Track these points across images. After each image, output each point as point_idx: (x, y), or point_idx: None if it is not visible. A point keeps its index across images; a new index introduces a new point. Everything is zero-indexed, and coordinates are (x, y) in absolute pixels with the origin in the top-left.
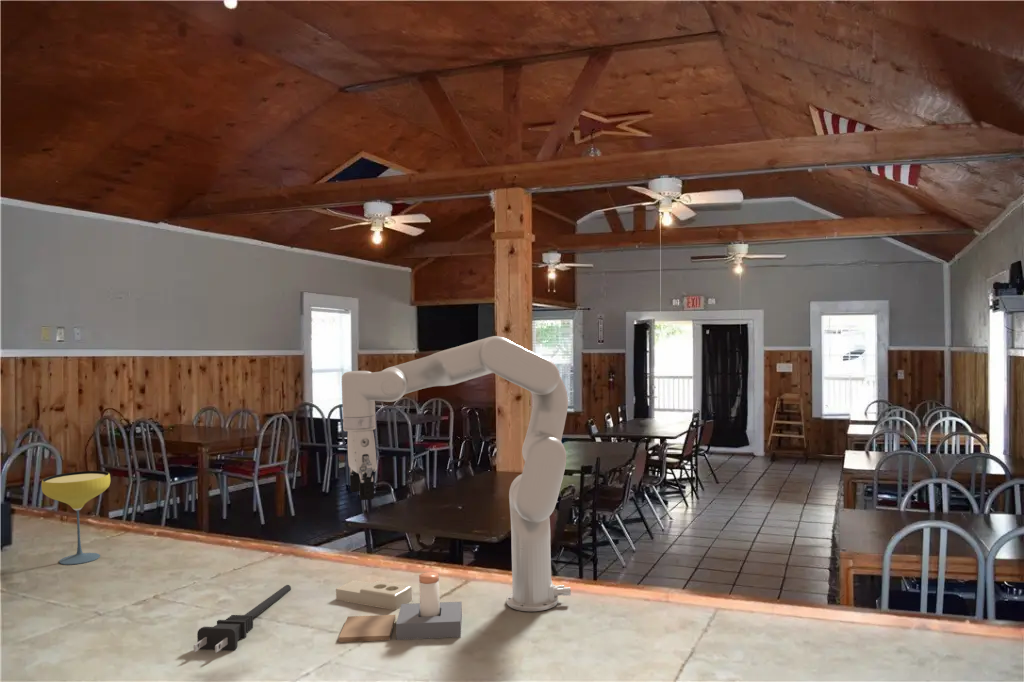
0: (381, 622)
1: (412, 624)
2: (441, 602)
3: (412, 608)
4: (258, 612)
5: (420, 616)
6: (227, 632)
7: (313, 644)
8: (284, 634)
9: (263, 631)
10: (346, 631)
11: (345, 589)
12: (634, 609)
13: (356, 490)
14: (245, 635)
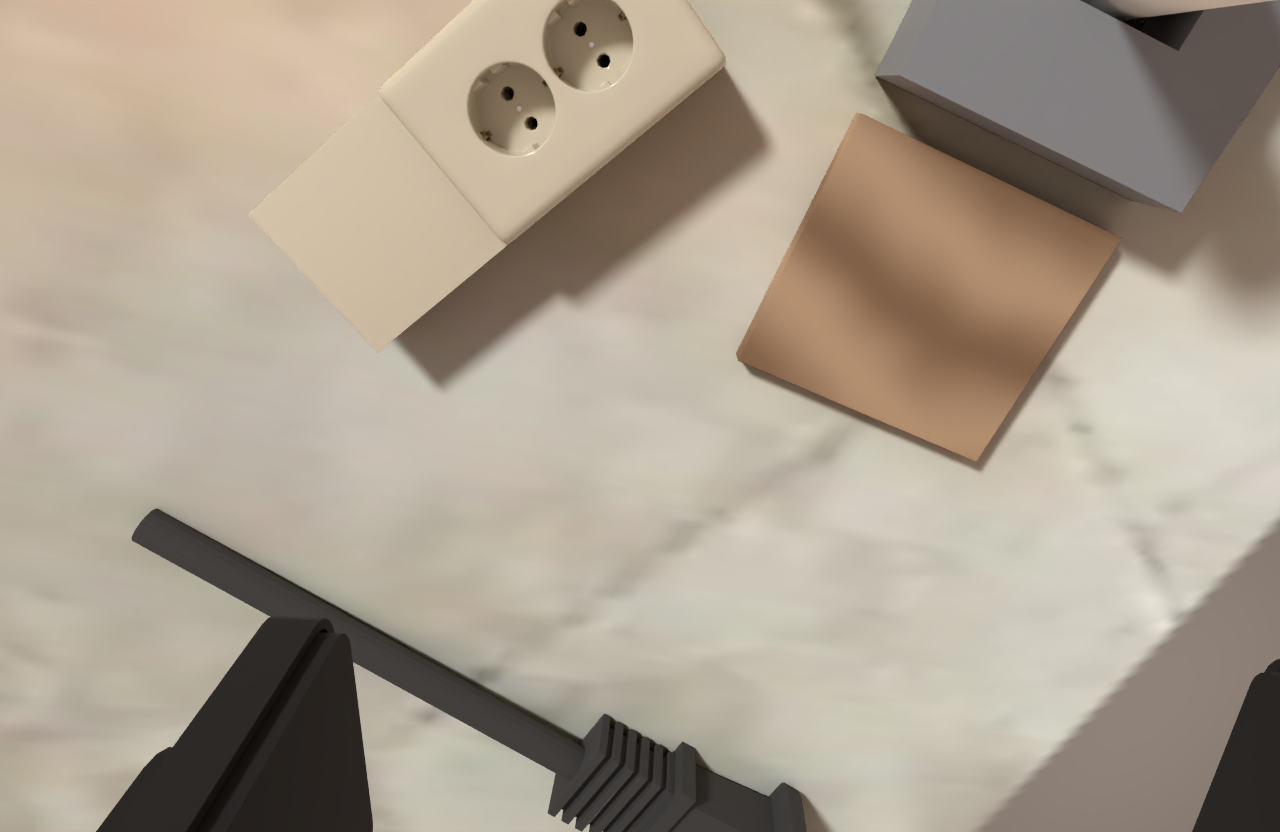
0: (925, 223)
1: (1237, 119)
2: None
3: (1021, 33)
4: (483, 695)
5: (1130, 17)
6: None
7: (921, 547)
8: (739, 624)
9: (659, 684)
10: (928, 414)
11: (409, 305)
12: None
13: (358, 773)
14: (689, 751)
